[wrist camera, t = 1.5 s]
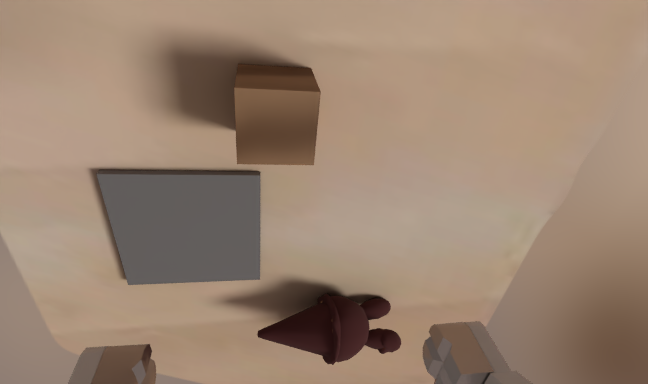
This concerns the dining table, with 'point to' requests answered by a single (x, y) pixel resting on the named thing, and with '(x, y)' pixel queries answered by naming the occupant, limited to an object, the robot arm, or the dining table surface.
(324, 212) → the dining table surface
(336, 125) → the dining table surface
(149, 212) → the coaster
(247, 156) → the cube
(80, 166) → the dining table surface
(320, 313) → the icecream
